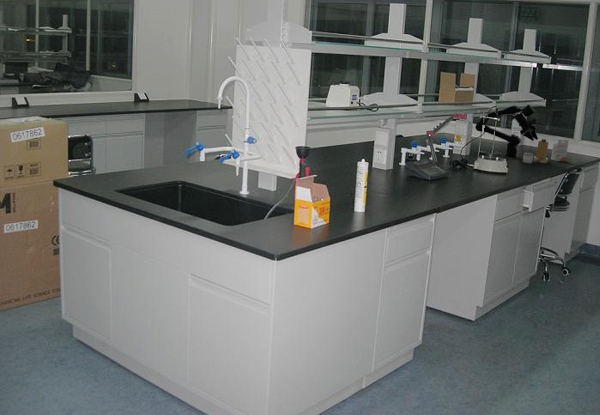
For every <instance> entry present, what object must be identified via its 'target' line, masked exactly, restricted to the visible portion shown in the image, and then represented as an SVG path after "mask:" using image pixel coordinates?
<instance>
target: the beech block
mask: <svg viewBox="0 0 600 415" xmlns="http://www.w3.org/2000/svg"><path fill="white" fill-rule="evenodd" d="M548 161H549V158H548V157H546V158H544V159H542V158H536V155H533V160H532V162H535V163H542V164H548Z"/></svg>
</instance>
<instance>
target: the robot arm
mask: <svg viewBox="0 0 600 415" xmlns="http://www.w3.org/2000/svg"><path fill="white" fill-rule="evenodd" d="M497 111H498V115H497V117H500V116H506V115H507V116H509V115H511V121H513V120H515V121H516V123H517V124H518V127H520V128H521V129H520V131H519V134H520V135H522V136H524V137H525V138H527V139H529V141H532V142H534V141H535V140H536V141H538V139H539V138H538V135H537V128H538V127H537V126H536V125H538V124H539V120H538V118H532V120H529V119H526V117H527V118H529V117H530V116H532V115H533V114H535V113H536V111H535V109H534V107H532V106H531V104H527V105H526V106H524V107H523V108H521V107H519V106H518V105H511V106H509V107H506V108H505V109H500V110H497ZM495 112H496V111H493V112H488V113H489V114H488V117H493V118H496V113H495ZM489 119H490V118H487V119H485V122H484V125H485V128H484V132H482V125H483V117H482V118H481V119H480V120H479V122H477V123H476V124H475V126H474V127H475V130H476V131H478V132H482V133H487V134H490V135H492V136H494V131H495V137H497V138H499V139H502V140H504V141H506V142H507V144H506V145H507V146H506V152H505V156H506V157H512V158H515V157H517V154H518V146H519V145H520V144H521V143H522V139H521V137H519V135H516V134H514V133H512V134H511V135H510V134H507V133H505V132H502V131H500V130H497V129H495V128H492V127H491V126H489V125H488V124H487V123H488V121H489Z"/></svg>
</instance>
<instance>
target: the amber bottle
mask: <svg viewBox="0 0 600 415" xmlns="http://www.w3.org/2000/svg"><path fill="white" fill-rule="evenodd" d="M537 142H538V144H537V149H536V155H535V156H536V158H542V159H544V158H547V153H548V147H549V141H547V139H546V138H545V139H544V138H542V139H541V140H539V141H537Z"/></svg>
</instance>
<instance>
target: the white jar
mask: <svg viewBox="0 0 600 415" xmlns="http://www.w3.org/2000/svg"><path fill="white" fill-rule="evenodd" d="M534 156H535V154H534V153H531V152H523V157H522V163H524V164H525V163H526V164H533V160H534Z"/></svg>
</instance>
